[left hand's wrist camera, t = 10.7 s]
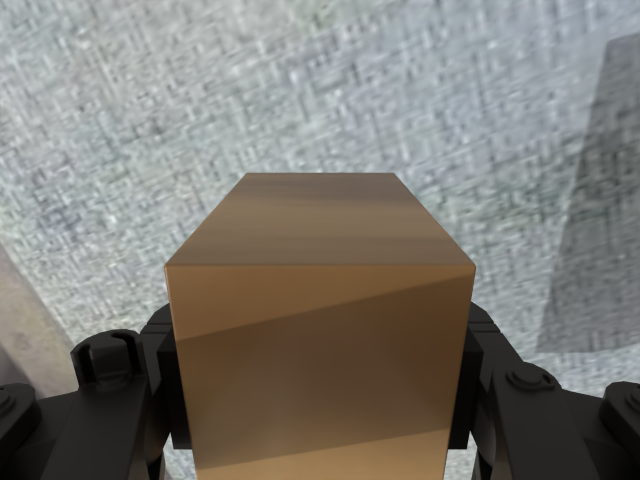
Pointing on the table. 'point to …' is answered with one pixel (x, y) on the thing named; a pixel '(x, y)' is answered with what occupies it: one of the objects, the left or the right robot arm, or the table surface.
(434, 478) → the bar
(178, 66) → the table surface
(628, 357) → the table surface
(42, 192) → the table surface
